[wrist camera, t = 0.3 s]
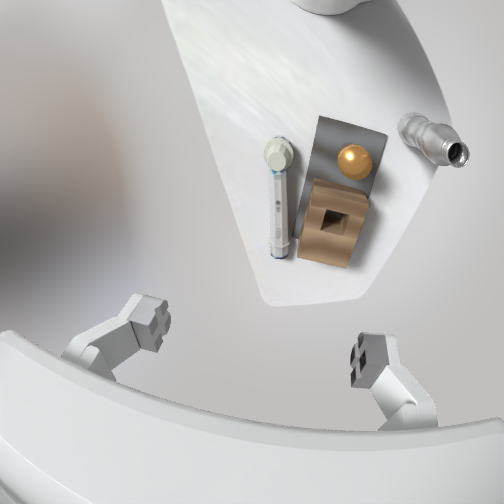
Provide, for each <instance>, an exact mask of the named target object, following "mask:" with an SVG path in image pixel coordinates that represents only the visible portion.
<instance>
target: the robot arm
mask: <svg viewBox="0 0 504 504" xmlns="http://www.w3.org/2000/svg"><path fill="white" fill-rule="evenodd" d="M291 1H292V2H293V3H294V4H296V5H297V6H299V7H300V8H302V9H304V10H307V11H309V12H312V13H316V14H322V15H335V14H341V13H344V12H347V11H349V10H351V9H352V8H354V7H355V6H356V5H357V4H359V3H361V2H366V1H370V0H291ZM167 308H168V303H167V301H166V300H162V299H159V298H155V297H152V296H148V295H143V294H140V293H134V294H133V295H132V296H131V298H130V299H129V301H128V302H127V304H126V305H125V306H124V308H123V309H122V311H121V312H120V314H119V315H118V317H113V318H111V319H109V320H107V321H105V322H103V323H101V324H99V325H97V326H95V327H93V328H91V329H89V330H87V331H85V332H84V333H81V334H79V335H77V336H75V337H74V338H73V339H72V341H71V342H70V344H69V345H68V346H67V348H66V350H65V351H64V352H63V354H62V355H61V357H59V356H57V355H56V354H53V353H52V352H50V351H48V350H46V349H44V348H42V347H41V346H39V345H37V344H35V343H34V342H32V341H30V340H28V339H27V338H25V337H23V336H22V335H20V334H19V333H17V332H15V331H13V330H8V331H4V332H2V333H0V504H504V421H503V420H502V419H501V418H490V419H486V420H481V421H476V422H470V423H465V424H458V425H452V426H444V427H438V422H437V415H436V408H435V402H434V401H433V400H432V398H431V397H430V396H429V395H428V394H427V393H426V391H425V390H424V389H423V388H422V387H421V385H420V384H419V383H418V382H417V380H416V379H415V378H414V377H413V376H412V374H411V373H410V372H409V371H408V370H407V369H406V368H405V366H401V361H400V356H399V350H398V345H397V341H396V336H395V335H390V334H380V333H368V332H361V333H360V334H359V336H358V343H356V344H355V345H354V347H353V349H352V352H351V359H350V365H351V367H352V368H353V371H352V373H351V387H355V388H368V389H369V390H370V392H371V393H372V395H373V397H374V398H375V400H376V402H377V403H378V405H379V407H380V408H381V410H382V412H383V413H384V415H385V417H386V418H387V420H388V421H387V422H386V423H385V424H383V425H382V426H381V427H380V428H379V429H378V431H342V430H325V429H312V428H301V427H293V426H285V425H277V424H270V423H263V422H258V421H252V420H247V419H241V418H236V417H231V416H227V415H222V414H217V413H213V412H209V411H205V410H201V409H197V408H193V407H190V406H186V405H182V404H179V403H176V402H172V401H168V400H166V399H162V398H159V397H156V396H153V395H150V394H147V393H144V392H141V391H139V390H136V389H133V388H130V387H128V386H125V385H122V384H120V383H117V382H116V378H115V377H114V375H113V373H112V372H111V370H112V369H113V368H115V367H116V366H118V365H119V364H120V363H122V362H123V361H125V360H126V359H127V358H129V357H130V356H132V355H133V354H134V353H136V352H137V351H139V350H140V348H141V349H145V350H149V351H153V352H156V353H157V352H158V350H159V348H160V346H161V344H162V342H163V340H162V336H164V335H165V334H167V332H168V330H169V328H170V323H171V316H170V313H169V312H168V311H167Z"/></svg>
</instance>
